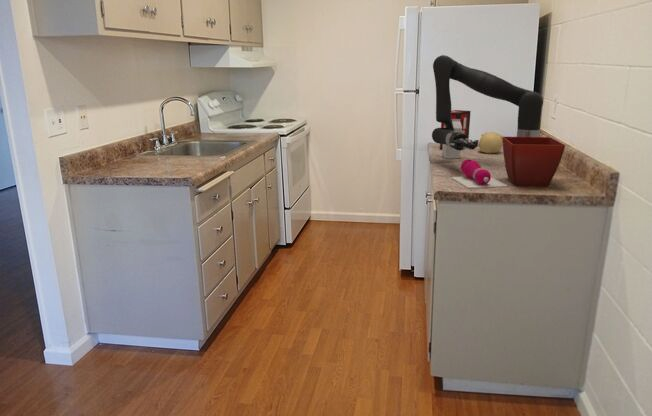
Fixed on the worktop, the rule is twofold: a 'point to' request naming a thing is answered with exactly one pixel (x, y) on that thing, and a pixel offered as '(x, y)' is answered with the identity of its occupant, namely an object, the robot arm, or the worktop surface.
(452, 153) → the milk carton
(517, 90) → the robot arm
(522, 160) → the plant pot
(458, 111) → the cleaning product box
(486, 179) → the pepper mill
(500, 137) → the tan ball
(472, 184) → the mat
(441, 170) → the worktop surface
